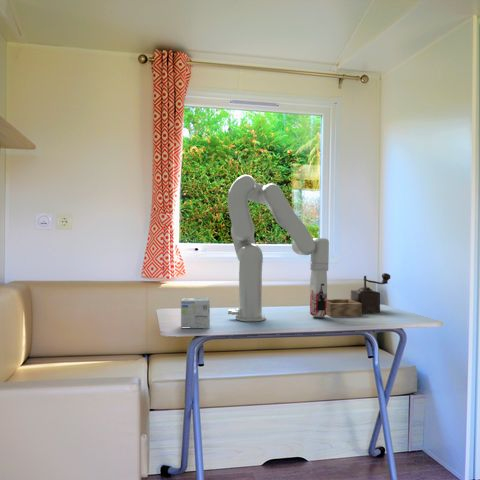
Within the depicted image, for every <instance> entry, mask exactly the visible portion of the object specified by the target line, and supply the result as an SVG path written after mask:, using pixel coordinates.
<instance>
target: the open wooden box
mask: <svg viewBox="0 0 480 480" xmlns="http://www.w3.org/2000/svg"><path fill="white" fill-rule="evenodd" d="M325 316H328V317H330V318H335V317H336V318H341V317H340V316H346V317H362V316H363V313H362V303H359V302H356V301H354V300H351V298H336V299H335V298H333V299H332V298H331V299H330V298H327V313H326V315H325Z"/></svg>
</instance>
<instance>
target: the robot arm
mask: <svg viewBox="0 0 480 480" xmlns="http://www.w3.org/2000/svg"><path fill="white" fill-rule="evenodd" d="M227 194H228V195H227V201H226V202H227V208H228V215H229V218H230V222H231V228H230V234H231V239H232V243H233V246H234V250H235V254H236V258H237V260H238V261H239V264H238V265H239V268H238V270H239V272H238V287H239V289H238V291H239V292H238V293H239V294H238V298H239V299H238V301H239V302H238V303H239V304H238V305H239V306H237V308H236V309H227V314H228V315H233V316H234V315H235V320H236V321H239V322H240V321H241V322H250V323H251V322H253V323H254V322H261V321H265V320H266V315H264V314H262V313H263V312H262V311H263V303H262V302H263V297H262V296H263V281H262V279H263V277H262V276H263V263H264V262H263V261H264V260H263V259H264V257H263V256H264V255H263V251H262V249H261V248H260V246H259V245H257V243H256V240H255V237H254V236H255V232H256V229H255V225H254V223H253V219H252V215H251V212H250V207H249V201H250V202H253V203H257V204H261V205H265V206H267V209H268V210H269V211H270V213H271V215H272V216H273V219H274V220H275V222H276V223H277V224H278V226H279V227H280V228H282V229H284V230H285V231H286V233H288V235H289V236H290V237H291V239H292V240H293V241H292V243H291V249H292V251H293V252H294V253H295V254H297V255H300V256H309V255H310V268H309V269H310V279H309V281H310V282H309V292H310V293H311V290H313V292H314V294H317V293H318V301H317V310H325V296H326V293H327V294H328V274H327V272H329V262H330V261H329V258H330V257H329V255H330V252H329V250H330V241H329V239H328V238H325V237H324V238H323V237H321V238H320V237H314V238H313V236H312V235H311V233H310V231H309V230H308V228H307V227H306V224H304V222H303V221H302V220H301V218H299V216H298V215H297V214H296V212H295V211H294V209H293V207H291V205H290V202H289V200H288V199H287V198H286V196H285V194H284V192H283V191H282V189H281V188H280V186H279V185H278V184H276V183H268V184H262V183H258V182H256V179H254V177H252V176H251V175H250V174H243V175H241V176H239V177H237V178H236V179H235V180H234V182H233V183H232V184H231V187H229V190H228V193H227ZM312 288H313V289H312ZM319 292H322V293H319ZM320 295H321V296H320Z"/></svg>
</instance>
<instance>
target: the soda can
mask: <svg viewBox="0 0 480 480" xmlns="http://www.w3.org/2000/svg"><path fill="white" fill-rule="evenodd" d="M312 289H313V288H312ZM319 293H322V292H319ZM309 294H310V297H309V313H310V315H311V316H312V317H313V318H324V317H325V316H327V315H326V313H327V299H328V292H327V293H326V296H325V310H317V301H318V293H317V294H314V292H313V290H311V292H310V293H309ZM320 296H321V295H320Z"/></svg>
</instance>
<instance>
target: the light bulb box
mask: <svg viewBox="0 0 480 480" xmlns="http://www.w3.org/2000/svg"><path fill="white" fill-rule="evenodd" d="M210 309H211V307H210V297H202V298H201V297H200V298H199V297H196V298H194V297H193V298H191V297H190V298H188V297H187V298H184V297H183V298H182V299H181V300H180V328H181V327H190V328H203V329H209V328H210V324H211V323H210V321H211V318H210V317H211V316H210V315H211V314H210V313H211V312H210V311H211V310H210Z"/></svg>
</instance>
